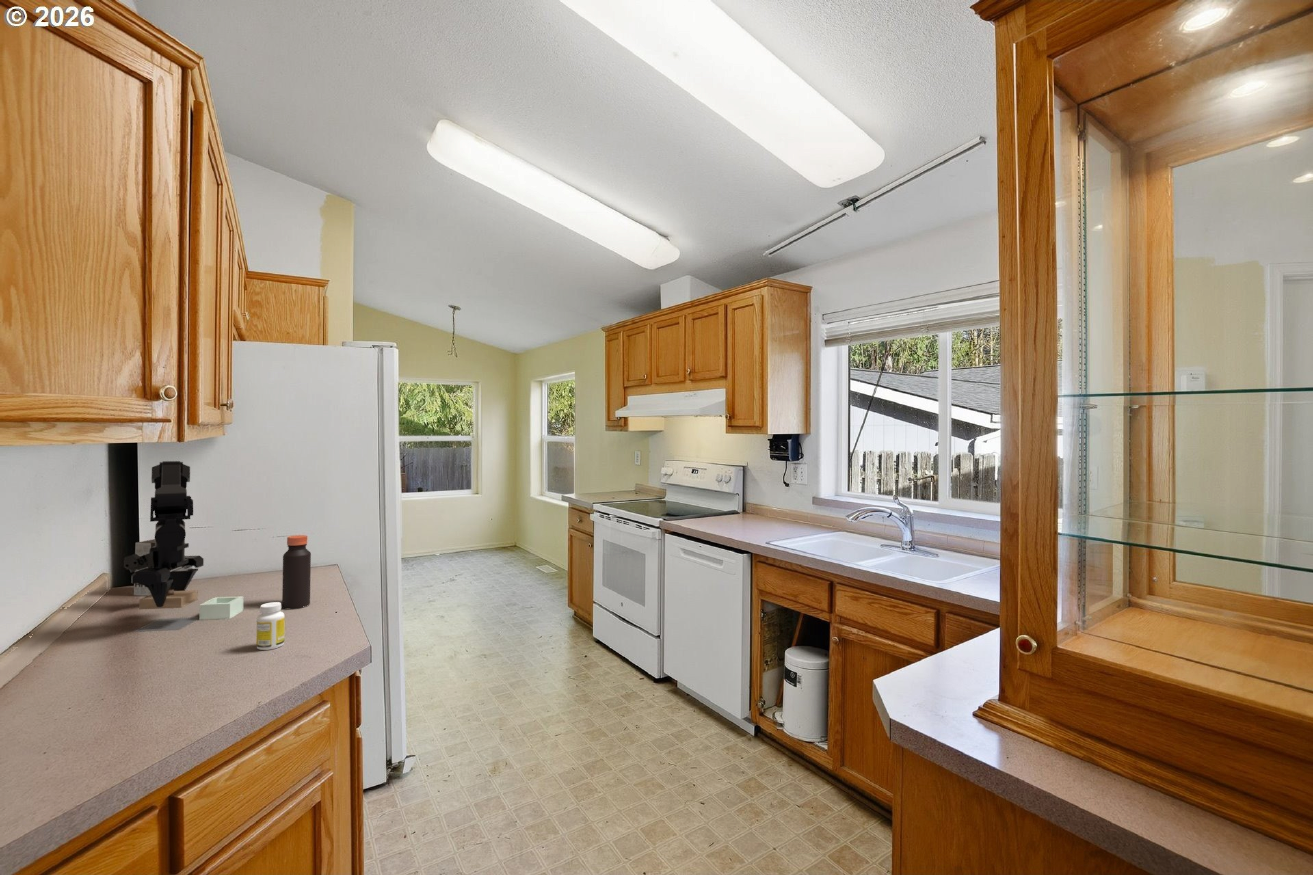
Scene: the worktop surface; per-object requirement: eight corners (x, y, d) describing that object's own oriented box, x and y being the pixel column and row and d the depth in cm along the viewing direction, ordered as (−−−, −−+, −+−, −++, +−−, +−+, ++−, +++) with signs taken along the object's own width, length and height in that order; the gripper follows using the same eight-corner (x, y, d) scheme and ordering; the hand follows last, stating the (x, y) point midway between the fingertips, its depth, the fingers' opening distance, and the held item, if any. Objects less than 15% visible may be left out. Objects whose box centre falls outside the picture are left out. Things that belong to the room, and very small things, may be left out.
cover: (157, 601, 146) (158, 587, 146) (197, 599, 148) (197, 586, 148) (139, 609, 139) (139, 595, 139) (181, 607, 141) (181, 593, 141)
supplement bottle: (281, 640, 136) (282, 599, 136) (286, 646, 132) (287, 604, 132) (254, 646, 132) (254, 604, 132) (258, 652, 128) (259, 609, 128)
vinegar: (312, 601, 167) (313, 534, 167) (306, 608, 160) (307, 538, 160) (286, 603, 165) (287, 534, 165) (278, 610, 158) (279, 539, 158)
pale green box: (214, 613, 154) (214, 597, 154) (243, 612, 156) (243, 596, 156) (199, 622, 148) (199, 604, 148) (229, 620, 149) (230, 603, 149)
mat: (159, 621, 148) (159, 618, 148) (202, 619, 150) (202, 616, 150) (132, 634, 138) (132, 631, 138) (179, 631, 140) (179, 629, 140)
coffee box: (154, 596, 170) (154, 542, 170) (133, 595, 170) (133, 542, 170) (180, 588, 179) (180, 537, 179) (160, 587, 179) (160, 536, 179)
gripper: (157, 535, 151) (156, 593, 151) (105, 549, 133) (104, 615, 133) (205, 534, 154) (204, 592, 154) (160, 548, 135) (159, 613, 135)
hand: (169, 602), depth 144 cm, fingers closed on cover, 7 cm apart
